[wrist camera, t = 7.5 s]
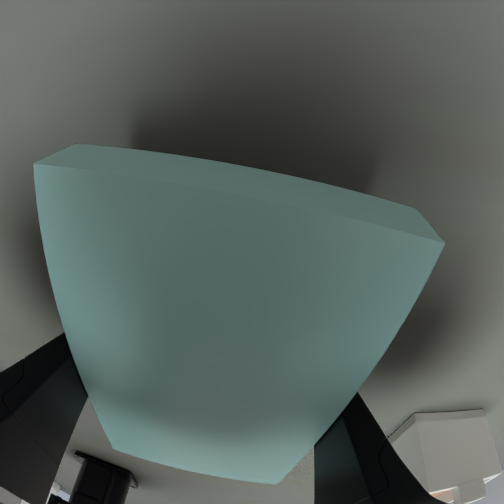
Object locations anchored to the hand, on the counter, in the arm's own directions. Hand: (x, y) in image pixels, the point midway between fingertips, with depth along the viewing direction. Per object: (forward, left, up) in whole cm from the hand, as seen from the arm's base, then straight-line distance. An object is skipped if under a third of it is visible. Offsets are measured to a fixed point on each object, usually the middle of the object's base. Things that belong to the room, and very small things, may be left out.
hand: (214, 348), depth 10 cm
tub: (-12, -14, -1) cm, 18 cm away
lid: (0, 0, +1) cm, 1 cm away
